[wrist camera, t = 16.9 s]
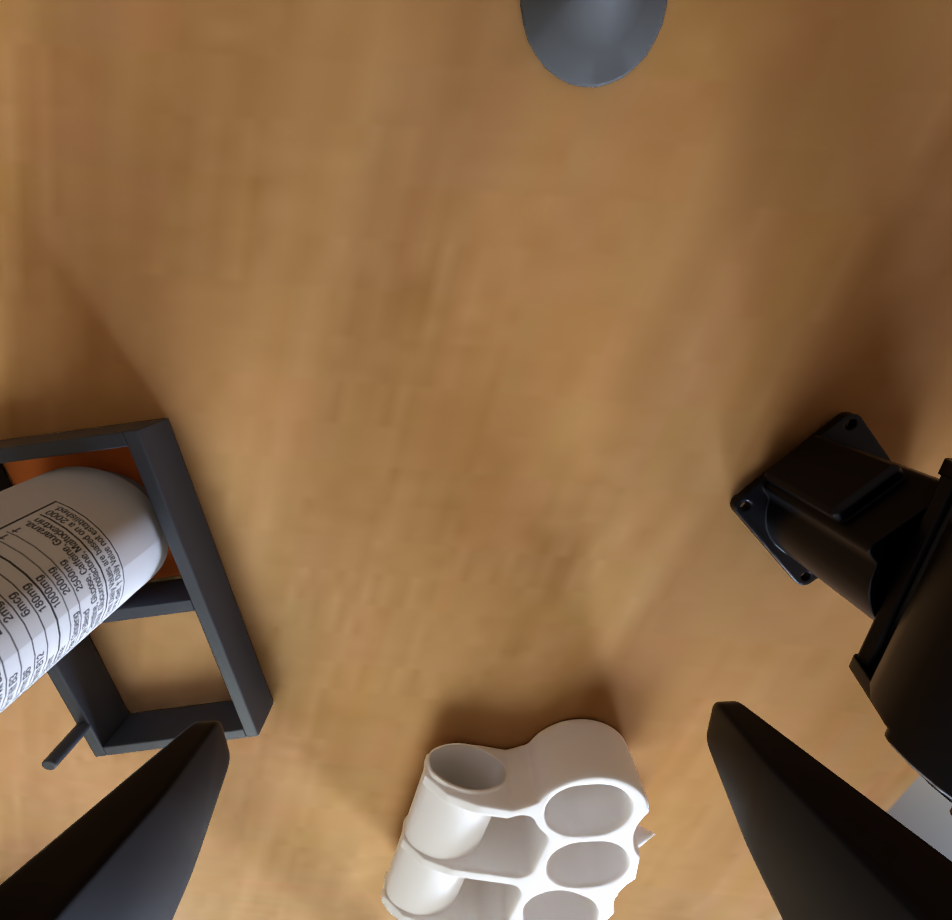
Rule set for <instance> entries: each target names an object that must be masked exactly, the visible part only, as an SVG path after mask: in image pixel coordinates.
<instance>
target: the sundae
mask: <svg viewBox="0 0 952 920" xmlns="http://www.w3.org/2000/svg"><path fill="white" fill-rule="evenodd" d="M666 4H667V0H521V2H520V7H521V13H522V19H523V24H524V28H525V32H526V35H527V39H528V42H529V43H530V45H531V47H532V49H533V51H534V52H535V54H536V56H537V57H538V59H539V60H540V61H541V63H542V64H543V65H544V67H545V68H546V69H547V70H548V71H550V72H551V73H552V74H554V75H555V76H556V77H558V78H559V79H561V80H563V81H565V82H566V83H568V84H571V85H576V86H581V87H599V86H603V85H606V84H610V83H612V82H614V81H616V80H619V79H621V78H623V77H624V76H625V75H627V74H628V73H629V72H630V71H631V70H633V69H634V68H635V67H636V66H637V65H638V64H639V63H640V62H641V61H642V60H643V58H644V57H645V56H646V55H647V53H648V52H649V50H650V48H651V46H652V45H653V43H654V41H655V39H656V37H657V35H658V33H659V30H660V28H661V26H662V23H663V19H664V14H665V10H666Z"/></svg>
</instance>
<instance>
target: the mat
mask: <svg viewBox="0 0 952 920" xmlns="http://www.w3.org/2000/svg"><path fill="white" fill-rule="evenodd" d="M3 464H4V466H5V468H6V470H7V472H8V473H9V475H10V477H11V479H12V481H13V483H14V485H17V484H20V483H22V482H24V481H27V480H29V479H32V478H34V477H37V476H39V475H41V474H44V473H46V472H49V471H51V470H55V469H59V468H63V467H73V466H82V467H90V468H96V469H100V470H103V471H110V472H114V473H118V474H121V475H124V476H126V477H128V478H130V479H133V480H135V481H136V482H138V483H139V484H141V485H142V486H144V484H143V481H142V479H141V477H140V474H139V472H138V469H137V467H136V464H135V462H134V459H133V457H132V455H131V452H130V450H129V447H128V446H127V447H119V448H112V449H105V450H97V451H90V452H82V453H75V454H68V455H60V456H53V457H45V458H38V459H31V460H23V461H16V462H8V463H3ZM144 487H145V486H144ZM177 575H181V574H180V572H179V569H178V567H177V565H176V562H175V560H174V557H173V555H172V552H171V550H170V547H169V545H168V550H167V556H166V559H165V561H164V563H163V565H162V567H161V568H160V569H159V571H158V572H157V573H156V574H155V575H154V576H153V577H152V578H151V579H154V578H162V577H169V576H177Z"/></svg>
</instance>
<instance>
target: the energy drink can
mask: <svg viewBox="0 0 952 920" xmlns="http://www.w3.org/2000/svg"><path fill="white" fill-rule="evenodd" d="M167 550H168V543H167V540H166V538H165V535H164V533H163V530H162V528H161V525H160V523H159V521H158V518H157V516H156V513H155V511H154V508H153V506H152V503H151V501H150V499H149V496H148V494H147V491H146V489H145V487H144V486H142V485H141V484H139V483H138V482H136V481H135V480H133V479H130V478H128V477H126V476H124V475H121V474H118V473H114V472H110V471H103V470H100V469H96V468H90V467H82V466H73V467H63V468H59V469H55V470H51V471H49V472H46V473H44V474H41V475H39V476H37V477H34V478H32V479H29V480H27V481H24V482H22V483H20V484H17V485H15V486H12V487H10V488H7V489H5V490H3V491H0V713H1V712H2V711H3V710H4V709H5V708H6V707H8V706H9V705H10V704H11V703H12V702H13V701H14V700H15V699H17V698H18V697H19V696H20V695H21V694H22V693H23V692H24V691H25V690H27V689H28V688H29V687H30V686H31V685H32V684H33V683H34V682H36V681H37V680H38V679H39V678H40V677H41V676H42V675H43V674H45V673H46V672H47V671H48V670H49V669H50V668H51V667H52V666H53V665H55V664H56V663H57V662H58V661H59V660H60V659H61V658H62V657H64V656H65V655H66V654H67V653H68V652H69V651H70V650H71V649H73V648H74V647H75V646H76V645H77V644H78V643H79V642H80V641H81V640H83V639H84V638H85V637H86V636H87V635H88V634H89V633H90V632H92V631H93V630H94V629H95V628H96V627H97V626H98V625H99V624H101V623H102V622H103V621H104V620H105V619H106V618H107V617H108V616H109V615H111V614H112V613H113V612H114V611H115V610H116V609H117V608H118V607H120V606H121V605H122V604H123V603H124V602H125V601H126V600H127V599H129V598H130V597H131V596H132V595H133V594H134V593H135V592H136V591H137V590H139V589H140V588H141V587H142V586H143V585H144V584H145V583H146V582H148V581H149V580H150V579H151V578H152V577H153V576H154V575H155V574H156V573H157V572H158V571H159V569H160V568H161V567H162V565H163V563H164V561H165V559H166V556H167Z"/></svg>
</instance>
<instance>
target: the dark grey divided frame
mask: <svg viewBox="0 0 952 920" xmlns="http://www.w3.org/2000/svg"><path fill="white" fill-rule="evenodd" d="M127 446H128V447H129V450H130V452H131V455H132V457H133V459H134V462H135V464H136V467H137V469H138V472H139V474H140V477H141V479H142V481H143V484H144V486H145V489H146V491H147V494H148V496H149V499H150V501H151V503H152V506H153V508H154V511H155V513H156V516H157V518H158V521H159V523H160V525H161V528H162V530H163V533H164V535H165V538H166V540H167V543H168V545H169V547H170V550H171V552H172V555H173V557H174V560H175V562H176V565H177V567H178V569H179V572H180V574H181V577H182V579H177V580H170V581H162V582H155V583H147V584H144V585H143V586H142V587H141V588H140V589H139V590H137V591H136V592H135V593H134V594H133V595H132V596H131V597H130V598H129V599H127V600H126V601H125V602H124V603H123V604H122V605H121V606H120V607H118V608H117V609H116V610H115V611H114V612H113V613H112V614H111V615H109V616H108V617H107V618H106V619H105V620H104V621H103V622H102V623H105V622H112V621H120V620H128V619H135V618H143V617H151V616H158V615H166V614H173V613H181V612H189V611H194V610H195V611H196V614H197V616H198V618H199V621H200V623H201V626H202V628H203V631H204V633H205V636H206V638H207V640H208V643H209V645H210V648H211V650H212V653H213V655H214V658H215V660H216V662H217V665H218V667H219V670H220V672H221V675H222V677H223V680H224V682H225V684H226V687H227V689H228V692H229V694H230V697H231V699H232V701H224V702H217V703H209V704H201V705H193V706H186V707H178V708H170V709H162V710H155V711H147V712H139V713H131V714H129V713H128V711H127V709H126V707H125V705H124V703H123V701H122V699H121V697H120V695H119V693H118V691H117V689H116V688H115V686H114V684H113V682H112V680H111V678H110V676H109V674H108V672H107V670H106V668H105V666H104V664H103V662H102V660H101V658H100V657H99V655H98V653H97V651H96V649H95V647H94V645H93V643H92V641H91V639H90V637H89V635H87V636H86V637H85V638H84V639H83V640H81V641H80V642H79V643H78V644H77V645H76V646H75V647H74V648H73V649H71V650H70V651H69V652H68V653H67V654H66V655H65V656H64V657H62V658H61V659H60V660H59V661H58V662H57V663H56V664H55V665H53V666H52V667H51V668H50V669H49V670H48V671H47V673H48V675H49V676H50V678H51V680H52V681H53V683H54V685H55V687H56V688H57V690H58V692H59V694H60V695H61V697H62V699H63V701H64V702H65V704H66V706H67V708H68V709H69V711H70V713H71V715H72V716H73V718H74V720H75V722H76V723H77V725H76V726H75V727H74V728H73V729H72V730H71V731H70V732H69V733H68V735H67V736H66V737H65V738H64V739H63V740H62V741H61V742H60V743H59V744H58V746H57V747H56V748H55V749H54V750H53V751H52V752H51V753H50V754H49V755H48V757H47V758H46V759H45V760H44V761H43V762H42V766H43V767H44V768H45V769H47V770H53V769H55V768H56V767H57V766H58V765H59V764H60V762H61V761H62V760H63V759H64V758H65V757H66V755H67V754H68V753H69V752H70V751H71V750H72V749H73V747H74V746H75V745H76V744H77V743H78V742H79V741H80V739H81V738H82V737H83V736H84V737H85V739H86V741H87V742H88V744H89V746H90V748H91V749H92V751H93V753H94V755H95V756H96V757H97V756H105V755H113V754H121V753H129V752H136V751H144V750H152V749H160V748H164V747H165V746H166V745H168V744H169V743H170V742H171V741H172V740H174V739H175V738H176V737H177V736H178V735H179V734H181V733H182V732H183V731H184V730H185V729H187V728H188V727H189V726H190V725H192V724H193V723H195V722H198V721H219V722H220V723H221V724H222V726H223V730H224V734H225V737H226V740H230V739H237V738H245V737H254V736H258V735H259V733H260V731H261V729H262V727H263V724H264V722H265V720H266V718H267V716H268V714H269V711H270V709H271V707H272V705H273V701H272V698H271V696H270V693H269V690H268V687H267V685H266V682H265V679H264V677H263V674H262V671H261V669H260V666H259V663H258V660H257V658H256V655H255V652H254V650H253V647H252V644H251V641H250V639H249V636H248V633H247V631H246V628H245V625H244V623H243V620H242V617H241V614H240V612H239V609H238V606H237V604H236V601H235V598H234V595H233V593H232V590H231V587H230V585H229V582H228V579H227V576H226V574H225V571H224V568H223V566H222V563H221V560H220V558H219V555H218V552H217V549H216V547H215V544H214V541H213V539H212V536H211V533H210V530H209V528H208V525H207V522H206V520H205V517H204V514H203V512H202V509H201V506H200V503H199V501H198V498H197V495H196V493H195V490H194V487H193V484H192V482H191V479H190V476H189V474H188V471H187V468H186V465H185V463H184V460H183V457H182V455H181V452H180V449H179V447H178V444H177V441H176V438H175V436H174V433H173V430H172V428H171V425H170V422H169V419H168V418H163V419H155V420H148V421H140V422H133V423H125V424H118V425H111V426H103V427H96V428H89V429H81V430H74V431H66V432H59V433H52V434H44V435H37V436H30V437H22V438H15V439H7V440H0V464H1V463H8V462H16V461H23V460H31V459H38V458H45V457H53V456H60V455H68V454H75V453H82V452H90V451H97V450H105V449H112V448H119V447H127ZM10 487H12V486H11V484H10V482H9V480H8V478H7V477H6V475H5V473H4V471H3V469H2V467H1V465H0V491H3V490H5V489H7V488H10ZM43 675H44V674H43ZM43 675H42V676H43ZM42 676H41V677H42ZM41 677H40V678H41ZM34 683H35V682H34ZM34 683H33V684H34ZM33 684H32V685H33ZM32 685H31V686H32ZM25 691H26V690H25ZM25 691H24V692H25ZM24 692H23V693H24ZM23 693H22V694H23ZM22 694H21V695H22ZM15 700H16V699H15ZM15 700H14V701H15ZM14 701H13V702H14Z"/></svg>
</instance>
